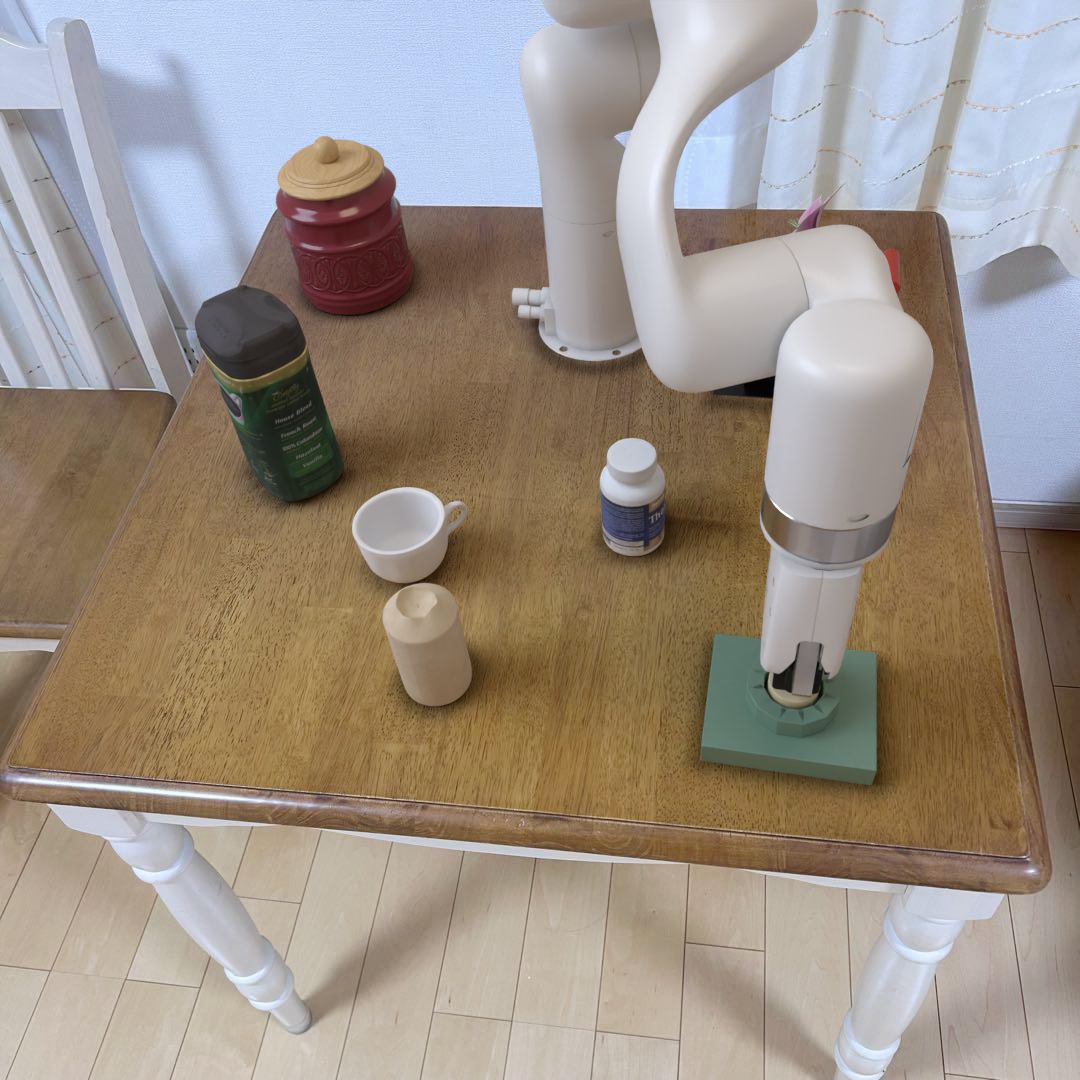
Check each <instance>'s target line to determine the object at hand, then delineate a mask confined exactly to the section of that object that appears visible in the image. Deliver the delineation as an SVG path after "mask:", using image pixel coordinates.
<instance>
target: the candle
mask: <svg viewBox="0 0 1080 1080" xmlns="http://www.w3.org/2000/svg"><path fill="white" fill-rule="evenodd" d="M381 616H382V624H383V628H384V631H385V633H386V636H387V640H388V642H389V646H390V649H391V651H392V655H393V658H394V661H395V664H396V666H397V669H398V673H399V675H400V678H401V682H402V684H403V687H404V689H405V691H406V693H407V695H408V696H409V697H410V698H411V699H412V700H413V701H414V702H416V703H418V704H420V705H423V706H427V707H441V706H445V705H446V706H447V705H449V704H451V703H453V702H456V701H457V700H458V699H459V698H461V697H462V696H463V695H464V694H465V693H466V692H467V690H468V688H469V687H470V685H471V682H472V678H473V667H472V662H471V658H470V654H469V650H468V645H467V641H466V637H465V631H464V629H463V624H462V619H461V615H460V612H459V607H458V603H457V600H456V598H455V596H454V595H453V593H451V591H450V590H449V589H447V588H445V586H441V585H439V584H437V583H431V582H419V583H414V584H410V585H407V586H405V587H402V588H401V589H399V590H398V591H396V592H395V593H394V594H393V595H392V596H391V597H390V598H389V599H388V600H387V602H386V604H385V605H384V607H383V611H382V615H381Z"/></svg>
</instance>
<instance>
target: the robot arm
mask: <svg viewBox="0 0 1080 1080" xmlns="http://www.w3.org/2000/svg"><path fill="white" fill-rule="evenodd" d="M541 2H542V6H543V7H544V9H545V11H546V12H547V14H548V16H549V17H550V18H551V19H553V20H554V21H555V22H554V23H552V24H550V25H548V26H546V27H543V28H542V29H541V30H539V31H537V32H536V33H534V34H533V35H532V36H531V37H530V38H529V39H528V40H527V42H526V43H525V45H524V47H523V49H522V51H521V54H520V58H519V67H518V69H519V82H520V85H521V86H520V87H521V92H522V96H523V101H524V104H525V108H526V112H527V117H528V120H529V125H530V129H531V133H532V137H533V142H534V146H535V153H536V161H537V168H538V169H537V170H538V176H539V186H540V197H541V206H542V220H543V230H544V240H545V252H546V264H547V274H548V285H549V286H542V288H541V289H531V288H526V287H512V288H513V289H512V291H511V304H512V306H513V307H518V308H517V317H518V319H521V320H522V319H523V320H532V319H533V320H534V319H535V320H539V321H538V331H539V332H538V333H539V336H540V338H541V339H542V342H543V343H544V344H545V345H546V346H547V347H548V348H549V349H551V350H552V351H554V352H555V353H557V354H559V355H561V356H564V357H566V358H570V359H574V360H577V361H578V360H579V361H587V362H602V361H611V360H614V359H615V360H616V359H619V358H622V357H626V356H628V355H631V354H633V353H636V352H637V351H638V350H642V353H643V355H644V357H645V360H646V363H647V365H648V367H649V368H650V370H651V372H652V373H653V374H654V376H655V377H656V378H657V380H659V381H660V383H662V385H664V386H665V387H667V388H669V389H671V390H672V391H677V392H681V393H684V394H685V393H687V394H699V393H705V392H710V391H711V392H712V391H714V390H716V389H720V388H725V387H729V386H733V385H737V384H742V383H746V382H750V381H754V380H758V379H763V378H767V377H771V376H775V375H776V377H775V387H774V396H773V399H772V407H771V418H770V426H769V435H768V443H767V451H766V457H765V458H766V459H765V467H764V477H763V485H762V492H761V493H762V494H761V502H760V512H759V524H760V529H761V532H762V533H763V535H764V537H765V539H766V541H767V542H768V543H769V545H770V552H769V559H768V568H767V575H766V582H765V593H764V594H765V595H764V603H763V614H762V616H763V617H762V625H761V626H762V629H761V638H760V639H761V653H760V663H761V665H762V667H763V668H764V670H765V671H766V672H771V673H773V681H772V687H773V688H774V689H779V690H786V691H787V692H789V693H792V695H796V696H804V697H811V696H812V694H817V693H818V692H819V688H820V684H821V679H822V674H823V670H824V676H828V679H831V678H833V677H834V676H835V675H836V674H837V673H838V672H839V669H840V667H841V663H842V660H843V657H844V653H845V649H847V644H848V640H849V636H850V632H851V629H852V628H851V627H852V624H853V619H854V614H855V611H856V606H857V605H856V604H857V600H858V597H859V594H860V586H861V581H862V576H863V573H864V572H863V571H864V566H865V564H867V563H869V562H871V561H872V560H874V559H875V558H877V557H878V556H879V555H880V554H881V553H882V552H883V551H884V549H886V547H887V546H888V544H889V542H890V539H891V536H892V533H893V527H894V523H895V519H896V515H897V511H898V507H899V505H900V500H901V496H902V492H903V488H904V486H905V481H906V477H907V473H908V469H909V465H910V461H911V457H912V455H913V454H912V453H913V450H914V447H915V442H916V438H917V434H918V430H919V426H920V423H921V419H922V416H923V415H922V414H923V410H924V407H925V402H926V399H927V396H928V392H929V386H930V383H931V379H932V375H933V369H934V360H935V359H934V350H933V346H932V343H931V340H930V337H929V335H928V334H927V333H926V331H925V329H924V328H923V326H922V325H921V324H920V323H919V322H918V321H917V320H916V319H915V318H913V317H912V316H911V315H910V314H908V313H907V312H905V310H904V308H903V306H902V304H901V300H900V299H899V296H898V293H896V290H895V288H894V285H893V282H892V279H891V272H890V267H889V264H888V261H887V259H886V257H885V255H884V254H883V253H884V252H883V250H881V248H879V247H878V245H877V243H876V242H875V240H874V239H873V238H872V237H871V235H870V234H868V233H867V232H866V231H865V230H864V229H862V228H860V227H859V226H855V225H850V224H830V225H824V226H819V228H814V229H809V230H805V231H800V232H796V233H792V232H791V233H787V234H782V235H778V236H773V237H766V238H762V239H761V238H760V239H757V240H753V241H748V242H744V243H739V244H735V245H729V246H725V247H721V248H716V249H711V250H707V251H703V252H702V251H701V252H697V253H693V254H690V255H685V256H684V255H683V251H682V248H681V244H680V239H679V234H678V227H677V222H676V212H675V183H676V176H677V171H678V167H679V164H680V160H681V159H682V155H683V152H684V150H685V148H686V146H687V144H688V142H689V140H690V138H691V137H692V135H693V133H694V132H695V130H696V129H697V128H698V126H699V125H700V124H701V123H702V122H703V121H704V120H705V119H706V118H707V117H708V116H709V115H710V114H711V113H712V112H713V111H714V110H715V109H717V108H718V107H720V106H721V105H722V104H723V103H725V102H726V101H727V100H729V99H731V98H732V97H734V96H735V95H736V94H737V93H739V92H741V91H742V90H744V89H746V88H747V87H749V86H750V85H752V84H753V83H755V82H756V81H759V80H760V79H761V78H763V77H764V76H766V75H767V74H769V73H771V72H772V71H774V70H775V69H776V68H778V67H780V66H781V65H782V64H783V63H785V62H787V61H788V60H789V59H790V58H792V57H793V56H794V55H795V54H796V53H797V52H798V51H800V50H801V49H802V48H803V46H804V45H806V43H807V42H808V41H809V39H810V38H811V36H812V35H813V33H814V32H815V29H816V27H817V23H818V15H819V11H818V10H819V8H818V1H817V0H541ZM630 131H631V132H630ZM627 132H630V134H629V136H628V139H627V142H626V146H625V145H623V143H621V142H620V140H618V138H616V136H617V135H619V134H622V133H627ZM561 348H567V350H565V351H562V350H560V349H561ZM615 351H618V352H620V353H619V354H614V353H613V352H615Z"/></svg>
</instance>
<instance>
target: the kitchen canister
mask: <svg viewBox="0 0 1080 1080" xmlns="http://www.w3.org/2000/svg"><path fill="white" fill-rule="evenodd" d="M276 180H277V184H278V187H279V189H278V191H277V193H276V196H275V206H276V208H277V210H278V212H279V213H280V214H281V215H282V216H283V217H284V218H285V221H284V225H283V230H284V234H285V237H286V239H287V240H288V242H289V246H290V248H291V252H292V255H293V256H292V257H293V258H294V262H295V266H296V269H297V271H298V275H297V276H298V281H299V284H300V287H301V289H302V291H303V293H304V294H305V295H306V298H307V300H308V301H309V303H311V304H312V306H313V307H314V308H317V309H318V310H320V311H322V312H325V313H330V314H334V315H342V316H343V315H346V316H347V315H348V316H350V315H361V314H366V313H371V312H374V311H377V310H379V309H380V310H381V309H382V308H384V307H386V306H388V305H391V304H392V303H394V302H395V301H397V300H398V299H400V298H401V297H402V296H404V294H405V293H406V292H407V291H408V290H409V288H410V286H411V285H412V282H413V278H414V277H413V276H414V275H413V271H414V261H413V258H412V257H413V256H412V253H411V250H410V249H409V246H408V240H407V236H406V230H405V226H404V221H403V216H402V214H403V209H402V205H401V203H400V201H399V199H398V198H397V197H396V196H395V195H394V194H395V192H396V189H397V179H396V176H395V174H394V172H392V171H391V169H389V168H388V167H387V166H386V165H385V160H384V157H383V156H382V154H381V153H380V152H379V151H378V150H377V149H376V148H374V147H371V146H369V145H366V144H362V143H360V142H358V141H354V140H350V139H333V138H332V137H330V136H328V135H322V136H319V137H317V138H316V139H315V140H314V142H313V143H312V144H309V145H308V146H305V147H303V148H301V149H300V150H298V151H296V152H295V153H294V154H293V155H292V156H291V157H290V159H288V160H287V161H286V162H285V163H284V164H283V165H282V166H281V168H280V169H279V171H278V173H277V179H276Z"/></svg>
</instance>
